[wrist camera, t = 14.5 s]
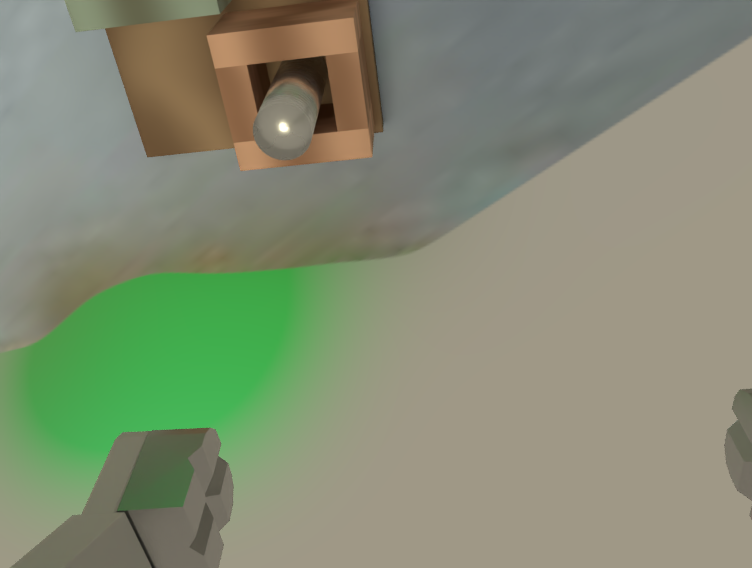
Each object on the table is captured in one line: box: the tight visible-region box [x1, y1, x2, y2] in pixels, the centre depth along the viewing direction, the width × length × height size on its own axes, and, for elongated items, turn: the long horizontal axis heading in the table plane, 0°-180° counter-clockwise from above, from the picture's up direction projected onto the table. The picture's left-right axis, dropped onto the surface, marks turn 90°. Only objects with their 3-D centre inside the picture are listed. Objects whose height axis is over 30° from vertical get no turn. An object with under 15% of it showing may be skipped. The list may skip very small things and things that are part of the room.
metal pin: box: [253, 56, 328, 160], centre depth 40 cm, size 3×3×10 cm
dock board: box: [65, 0, 383, 171], centre depth 40 cm, size 16×18×6 cm
